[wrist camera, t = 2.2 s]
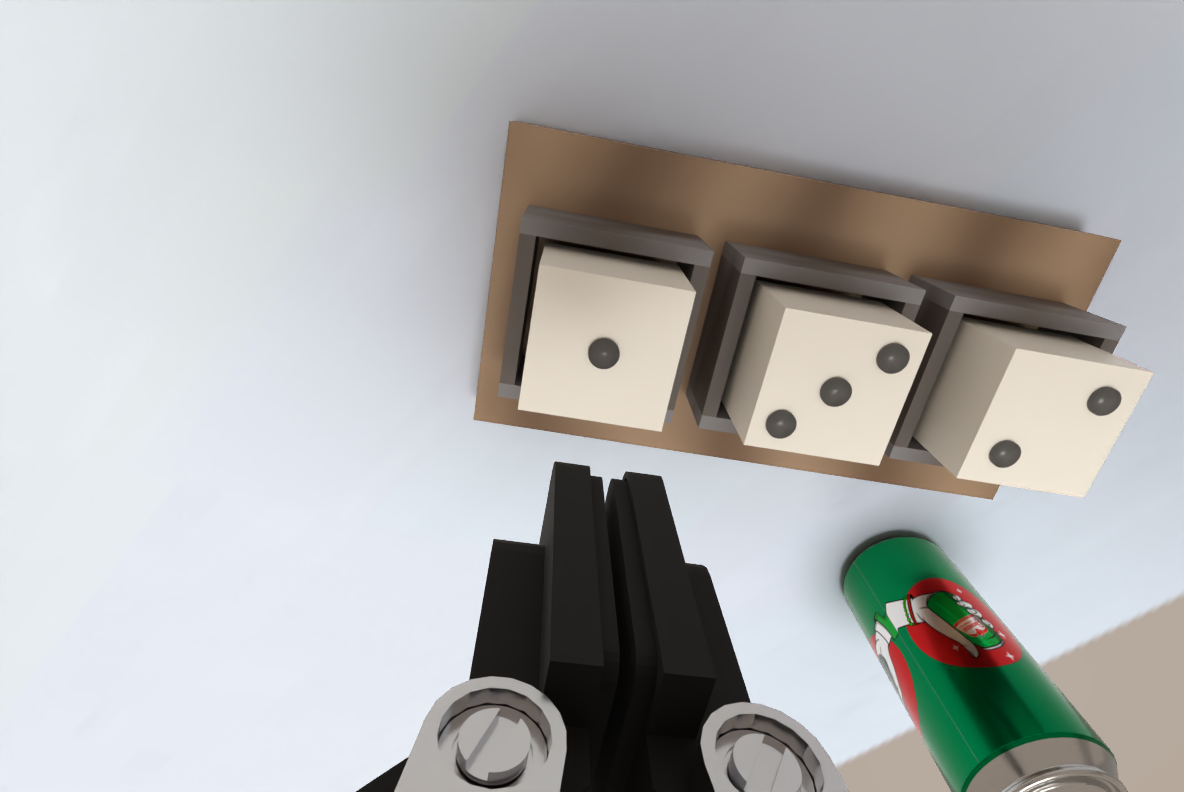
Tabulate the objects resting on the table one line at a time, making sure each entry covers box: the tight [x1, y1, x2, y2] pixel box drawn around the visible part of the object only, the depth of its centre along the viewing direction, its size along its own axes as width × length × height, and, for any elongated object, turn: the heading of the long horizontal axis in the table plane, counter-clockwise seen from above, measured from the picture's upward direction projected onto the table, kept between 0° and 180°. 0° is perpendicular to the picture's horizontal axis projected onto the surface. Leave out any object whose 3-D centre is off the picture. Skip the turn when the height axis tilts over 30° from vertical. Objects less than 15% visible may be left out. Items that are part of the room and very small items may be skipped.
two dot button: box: [912, 317, 1154, 498], centre depth 21 cm, size 4×4×4 cm
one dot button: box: [518, 242, 696, 432], centre depth 20 cm, size 4×4×4 cm
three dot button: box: [721, 280, 932, 466], centre depth 21 cm, size 4×4×4 cm
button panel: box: [474, 121, 1126, 500], centre depth 24 cm, size 22×11×5 cm, turn 80°
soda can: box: [843, 537, 1128, 792], centre depth 26 cm, size 5×5×12 cm
